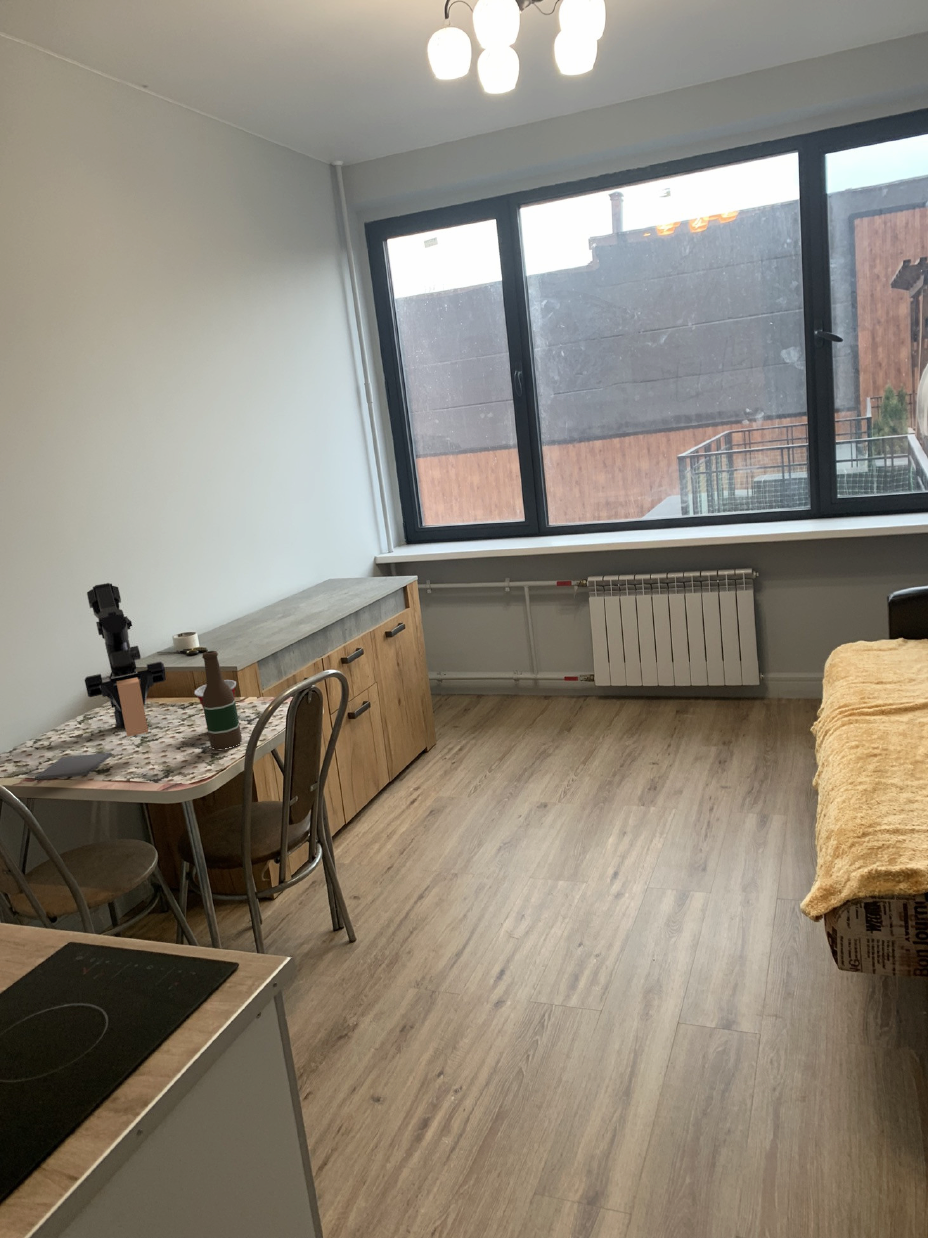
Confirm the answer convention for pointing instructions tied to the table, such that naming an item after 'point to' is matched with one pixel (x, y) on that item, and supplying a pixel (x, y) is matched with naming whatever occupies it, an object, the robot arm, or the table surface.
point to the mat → (73, 766)
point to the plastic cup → (201, 689)
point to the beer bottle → (219, 706)
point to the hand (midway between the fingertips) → (132, 707)
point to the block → (132, 706)
